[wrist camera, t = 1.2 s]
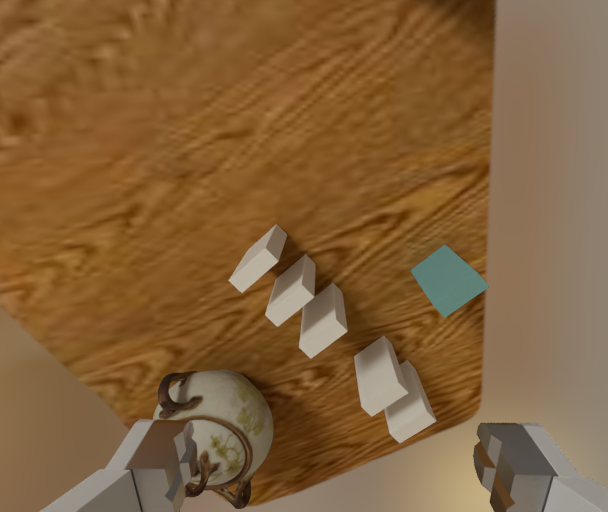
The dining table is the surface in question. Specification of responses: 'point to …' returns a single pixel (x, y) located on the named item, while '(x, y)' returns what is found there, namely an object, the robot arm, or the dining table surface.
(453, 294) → the teal rectangular block
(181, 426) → the robot arm
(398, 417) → the domino
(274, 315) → the domino
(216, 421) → the sugar bowl
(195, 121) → the dining table surface
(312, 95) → the dining table surface
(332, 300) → the domino
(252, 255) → the domino
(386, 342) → the domino
